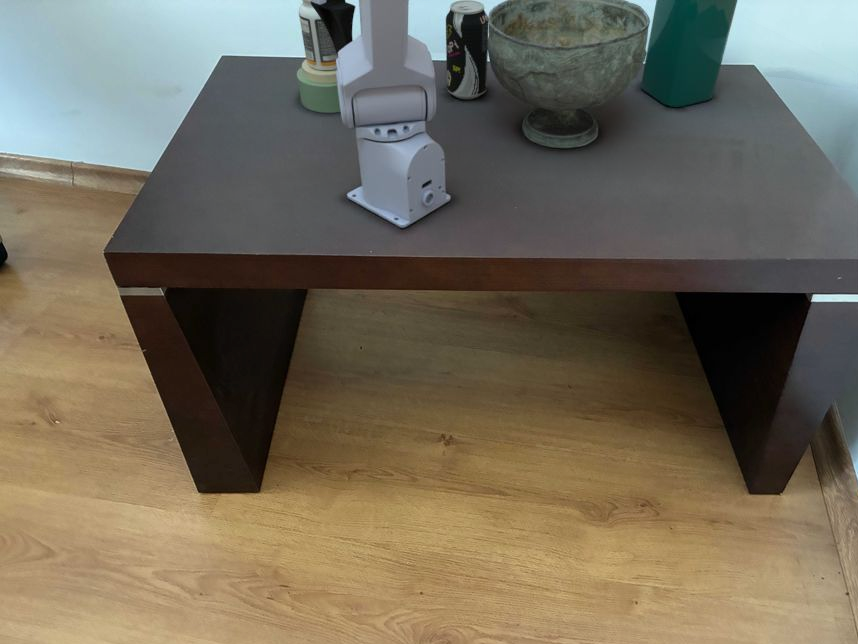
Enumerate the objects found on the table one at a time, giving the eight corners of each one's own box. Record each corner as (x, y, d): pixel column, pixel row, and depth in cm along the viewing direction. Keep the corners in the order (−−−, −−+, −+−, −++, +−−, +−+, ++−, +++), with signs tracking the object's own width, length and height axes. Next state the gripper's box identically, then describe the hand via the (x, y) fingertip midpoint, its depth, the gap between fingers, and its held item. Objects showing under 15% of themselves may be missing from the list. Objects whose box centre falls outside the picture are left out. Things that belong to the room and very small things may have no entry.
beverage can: (439, 89, 103) (437, 2, 95) (474, 81, 105) (475, -5, 97) (459, 105, 100) (458, 16, 91) (494, 96, 102) (496, 8, 93)
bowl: (580, 86, 104) (593, -25, 94) (660, 145, 92) (686, 25, 81) (458, 113, 98) (457, -3, 87) (526, 180, 86) (535, 55, 75)
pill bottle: (352, 55, 99) (344, -21, 92) (343, 73, 95) (334, -6, 88) (312, 54, 100) (301, -23, 93) (301, 71, 96) (289, -8, 89)
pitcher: (634, 86, 104) (664, -85, 89) (682, 76, 107) (719, -93, 91) (675, 115, 98) (715, -65, 82) (724, 103, 100) (772, -73, 85)
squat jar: (377, 97, 101) (374, 62, 98) (329, 119, 97) (324, 83, 93) (336, 79, 106) (332, 45, 102) (287, 99, 101) (281, 64, 97)
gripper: (380, -94, 84) (389, 25, 93) (281, -69, 76) (301, 58, 86) (423, -83, 81) (427, 39, 90) (324, -56, 73) (340, 75, 82)
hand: (369, 50), depth 88 cm, fingers open, 7 cm apart
